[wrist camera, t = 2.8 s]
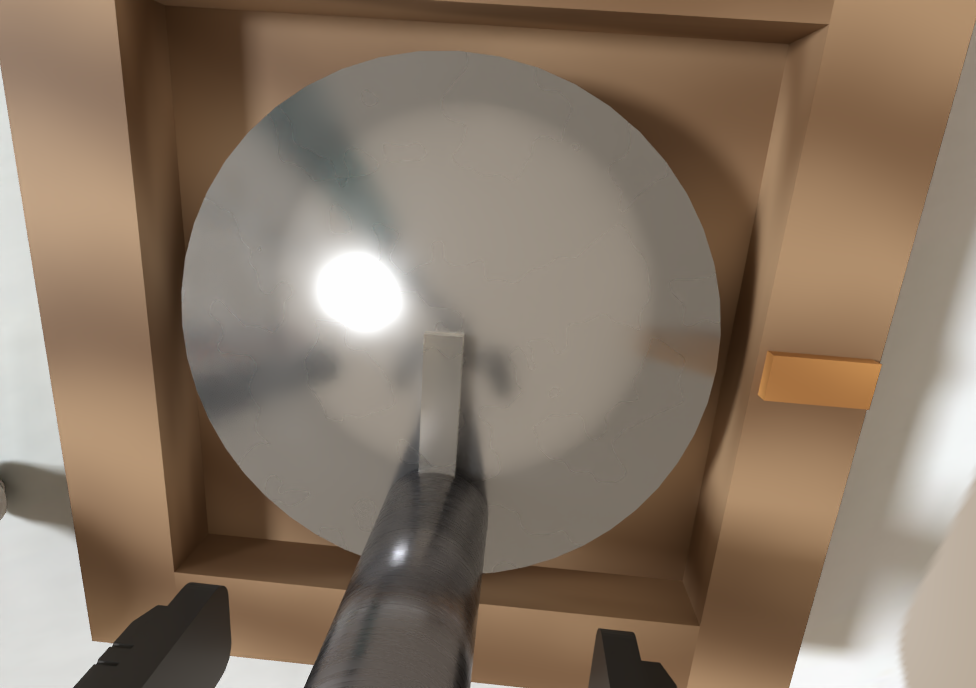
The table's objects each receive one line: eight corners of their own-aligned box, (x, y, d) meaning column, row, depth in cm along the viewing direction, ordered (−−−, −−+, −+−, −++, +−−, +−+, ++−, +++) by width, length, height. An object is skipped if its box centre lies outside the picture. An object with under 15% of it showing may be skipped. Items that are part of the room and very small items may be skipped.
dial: (203, 49, 15) (-344, -159, 6) (742, 84, 15) (1149, -83, 5) (233, 512, 19) (-55, 848, 10) (657, 553, 19) (795, 954, 9)
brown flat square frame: (80, -110, 16) (-59, -198, 12) (908, -66, 15) (1035, -145, 11) (158, 569, 22) (83, 650, 18) (740, 629, 21) (786, 727, 17)
